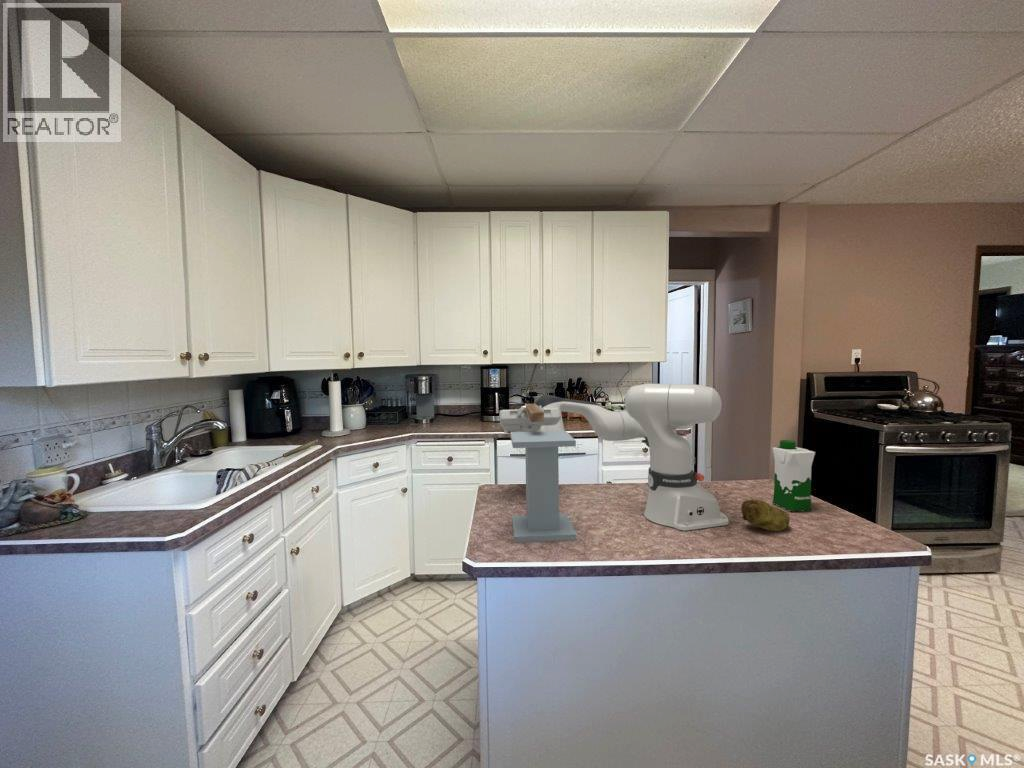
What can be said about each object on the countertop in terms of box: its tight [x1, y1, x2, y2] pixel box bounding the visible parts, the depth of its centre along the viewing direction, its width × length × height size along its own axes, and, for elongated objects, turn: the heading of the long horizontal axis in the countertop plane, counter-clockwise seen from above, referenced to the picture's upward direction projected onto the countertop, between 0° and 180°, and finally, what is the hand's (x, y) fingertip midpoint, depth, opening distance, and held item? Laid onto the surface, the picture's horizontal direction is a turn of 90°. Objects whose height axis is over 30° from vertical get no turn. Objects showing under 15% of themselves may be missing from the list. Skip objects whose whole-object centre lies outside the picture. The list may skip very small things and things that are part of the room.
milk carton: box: [772, 439, 816, 512], centre depth 122 cm, size 9×9×20 cm
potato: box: [740, 498, 791, 532], centre depth 108 cm, size 8×13×8 cm, turn 81°
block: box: [524, 403, 544, 422], centre depth 120 cm, size 4×22×2 cm, turn 3°
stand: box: [509, 430, 578, 543], centre depth 109 cm, size 16×14×26 cm
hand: (531, 408), depth 126 cm, fingers closed on block, 3 cm apart
